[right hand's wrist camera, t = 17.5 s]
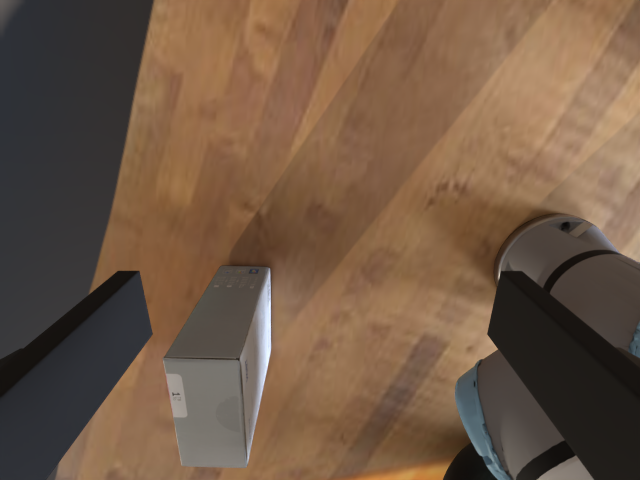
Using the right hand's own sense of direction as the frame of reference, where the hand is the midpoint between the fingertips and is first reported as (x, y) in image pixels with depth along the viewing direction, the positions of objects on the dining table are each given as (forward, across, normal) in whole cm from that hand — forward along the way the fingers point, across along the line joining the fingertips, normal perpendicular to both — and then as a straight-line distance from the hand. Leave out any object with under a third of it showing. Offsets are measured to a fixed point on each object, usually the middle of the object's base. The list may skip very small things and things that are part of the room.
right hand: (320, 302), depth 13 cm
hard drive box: (+35, +11, +23) cm, 44 cm away
